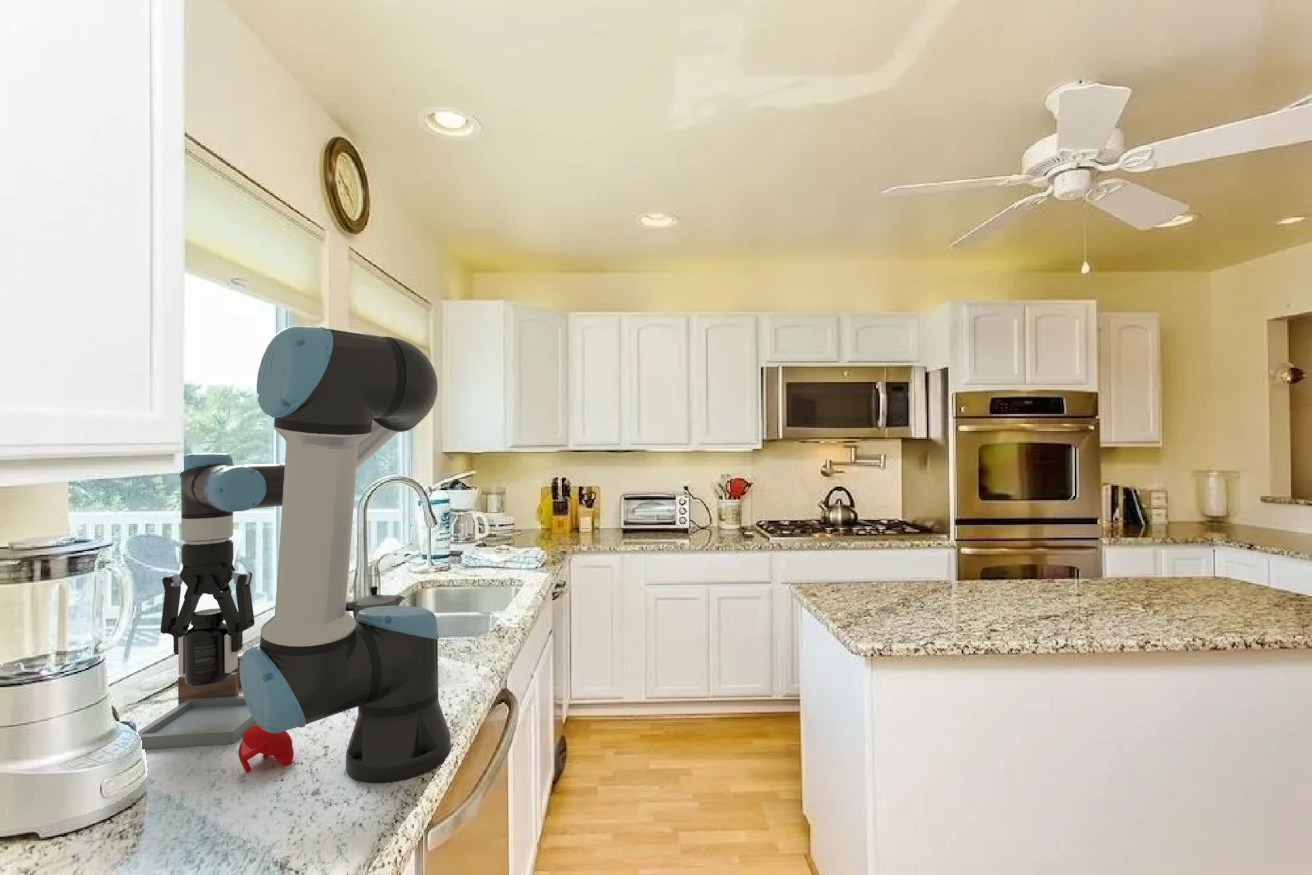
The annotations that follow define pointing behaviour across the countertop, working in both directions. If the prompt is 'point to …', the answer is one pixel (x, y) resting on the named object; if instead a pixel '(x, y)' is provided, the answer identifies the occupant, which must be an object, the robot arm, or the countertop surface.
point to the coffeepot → (373, 601)
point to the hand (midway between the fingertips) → (208, 670)
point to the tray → (199, 723)
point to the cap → (265, 746)
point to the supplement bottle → (205, 648)
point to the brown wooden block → (210, 687)
